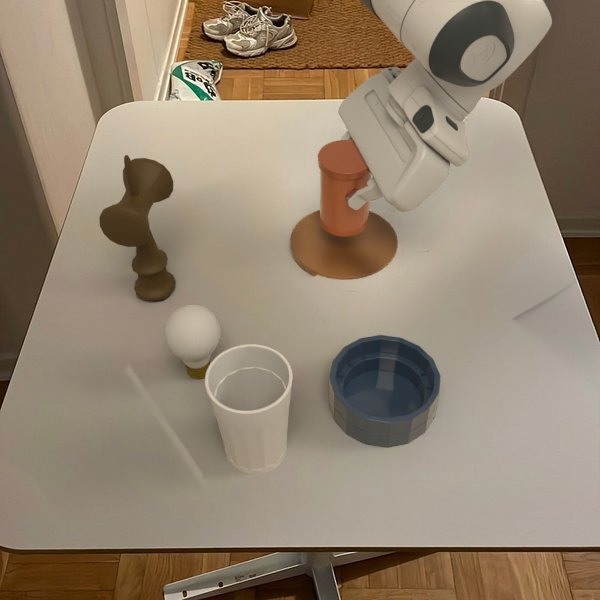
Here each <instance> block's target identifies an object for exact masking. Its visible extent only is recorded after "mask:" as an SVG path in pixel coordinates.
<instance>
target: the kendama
mask: <svg viewBox="0 0 600 600" xmlns="http://www.w3.org/2000/svg"><path fill="white" fill-rule="evenodd" d="M123 163H124V167H123V169H122V181H123V185H124V189H125V192H124V194H123V196H122V198H121V199H120V201H118V202H117V203H115V204H112V205H110V206H107V207H105V208H103V209H102V210H101V212H100V214H99V218H98V219H99V227H100V229H101V231H102V233H103V235H104V236H105V237H106V238H107V239H108V240H109V241H111V242H112V243H115V244H116V245H118V246H122V247H127V248H135V254H134V256H133V258H132V261H131V265H130V266H131V270H132V272H134V273H135V274H136V275H137V278H136V280H135V281H134V287H133V289H134V290H133V291H134V294H135V296H137V297H138V298H140V299H141V300H144V301H150V302H151V301H160V300H164V299H166V298H167V297H169V296H170V295H171V294H172V293H173V291H174V290H175V287H176V279H175V276H174V274H172V272H170V271H168V269H167V265H168V262H169V258H168V254H167V253H166V252H165V251H164V250H163V249H160V248H159V246H158V244H157V242H156V240H155V237H154V235H153V233H152V230H151V227H150V221H149V220H150V219H149V214H150V211H151V208H152V206H153V205H154V204H155V203H159V202H162V201H165V200H167V199H169V198H170V197H171V195H172V193H173V192H174V179H173V177H172V173H171V172H170V171H169V170H168V168H167V167H166V165H164V164H163V163H161V162H158V161H157V160H155V159H151V158H147V157H138V158H133V159H131V158H130V156H129V155H128V154H125V155H124V156H123Z"/></svg>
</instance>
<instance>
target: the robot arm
mask: <svg viewBox="0 0 600 600" xmlns="http://www.w3.org/2000/svg"><path fill="white" fill-rule="evenodd" d="M358 1H359V2H360V3H361V4H362V5H363V6H364V7H365V8H366V9H368V11H369V12H371V13H372V14H373V15H374V16H375V17H376V18H377V19H379V20H380V21H382V23H383V24H384V26H386V27H387V29H388V30H389V31H390V32H391V33H392V34H393V36H394V37H395V38H396V39H397V40H398V42H399V43H400V44H401V45H402V46H403V47H404V48H405V49H407V50H408V51H409V53H410V54H411V55H412V56H413V57H414V59H413V60H412V61H411V62H410V63H409V64H408V65H407V66H406V67H405V68H404V69H403V70H401V68H399V67H398V66H389V67H384V68H383V69H382V70H380V71H379V73H375V74H373V75H371V76H370V77H369V78H367V79H366V80H364V81H363V82H362V83H361V84H360V85H358V87H356V88H355V89H354V90H353V91H352V92H351V93H350V94H348V95H347V96H346V98H344V99H343V100H342V101H341V103H340V105H339V107H338V110H337V114H338V116H339V117H340V120H341V121H342V123H343V125H344V126H345V128H346V132H344V134H342V136H341V137H340V140H353V141H354V143H355V145H356V147H357V148H358V150H359V152H360V154H361V156H362V158H363V159H364V161H365V163H366V165H367V167H368V169H369V170H370V172H371V179H370V180H369V181H368V182H367V184H368V186H367V187H364V188H362V189H360V190H357V189H355V188H353V189H352V190H351V191H350V193H349V194H347V195H346V196H345V199H346V201H347V203H348V205H349V207H351V208H352V209H354V210H359V209H360V208H361V207H362V206H363V205H364V204H365V203H366V202H369V201H370V202H373V201H376V200H379V199H381V198H384V200H385V201H386V202H387V203H388V204H390V205H391V206H392V207H393V208H395V209H397V210H398V211H400V212H401V213H405V212H410V211H413V210H416V208H418V207H419V206H420V205H422V204H423V203H424V202H425V201H426V200H427V199H428V198H429V197H430V196H431V195H432V194H433V193H434V192H435V191H436V190H437V189H438V188H440V186H441V185H442V184H443V183H444V182H445V181H446V179H447V178H448V177H449V175H450V172H451V167H452V166H451V164H452V165H453V166H454V167H460V166H461V165H463V164H464V163H465V162H466V161H467V160H468V159H469V157H470V148H469V144H468V139H467V133H466V124H465V121H464V120H465V119H466V118H467V117H468V116H469V115H470V114H472V112H473V111H474V110H475V108H476V106H477V105H478V103H479V101H481V99H482V98H483V97H484V96H485V95H486V94H487V93H489V92H491V90H494V89H495V88H497V87H499V86H500V85H502V84H503V83H504V82H505V81H506V80H507V79H508V78H509V77H510V76H511V75H512V74H513V73H514V72H515V71H516V70H517V69H518V68H519V67H520V66H521V65H522V63H524V62H525V60H527V58H529V56H531V54H532V53H533V52H534V51H535V49H536V48H537V47H538V45H540V43H541V42H542V40H543V39H544V38H545V36H546V35H547V34H548V32H549V30H550V29H551V27H552V24H553V18H552V11H551V8H550V7H549V6H550V5H548V3H547V1H546V0H358Z"/></svg>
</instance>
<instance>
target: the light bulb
mask: <svg viewBox="0 0 600 600" xmlns="http://www.w3.org/2000/svg"><path fill="white" fill-rule="evenodd" d="M163 337H164V342H165V344H166V346H167V348H168V350H169V351H170V352H171V353H172V354H173V355H174V356H176V357H177V358H179V359H181V361H182V362H183V364H184V365H185V368H186V372H187V374H188V376H189V377H191V378H192V379H196V380H199V379H205V375H206V372H207V369H208V367H209V365H210V364H211V358H212V353H214V351H215V350H216V349H217V347H218V345H219V342H220V339H221V326H220V322H219V319H218V318H217V316H216V315H215V314H214V313H213V312H212V311H211V310H210V309H208V308H207V307H205V306H202V305H199V304H192V303H191V304H185V305H182V306H179V307H178V308H176V309H175V310H174V311H172V312H171V313H170V314H169V316H168V317H167V319H166V321H165V323H164V328H163Z"/></svg>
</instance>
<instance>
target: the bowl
mask: <svg viewBox="0 0 600 600" xmlns="http://www.w3.org/2000/svg"><path fill="white" fill-rule="evenodd" d="M441 377H442V376H441V374H440V371H439V369H438V367H437V364H436V362H435V359H434V358H433V357H432V356H430V354H429V353H428V352H426V351H425V350H424V349H423V347H421V346H420V345H418V344H416V343H414V342H411V341H410V340H407V339H405V338H403V337H401V336H394V335H393V336H392V335H385V334H377V335H372V336H365V337H361V338H358V339H356V340H354V341H353V342H351V343H349V344H347V345H345V346H344V347H343V348H341V350H340V351H339V352H338V354H337V355H336V356H335V358H334V359H333V360H332V363H331V367H330V373H329V380H328V381H329V383H328V405H329V408H330V412H331V415H332V418H333V420H334V422H335V423H336V424H337V425H338V427H340V428H341V430H342V431H343V432H344V433H345V434H346V435H347V436H349V437H351V438H353V439H355V440H357V441H358V442H360V443H362V444H364V445H369V446H374V447H375V446H376V447H380V448H381V447H382V448H392V447H398V446H402V445H403V446H404V445H408V444H410V443H412V442H413V441H414V440H416V439H417V438H419V437H421V436H422V435H424V434H425V433H426V432H427V431H428V429H429V427H430V425H431V424H432V423H433V421H434V419H435V418H436V411H437V406H438V401H439V397H440V388H441Z"/></svg>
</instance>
